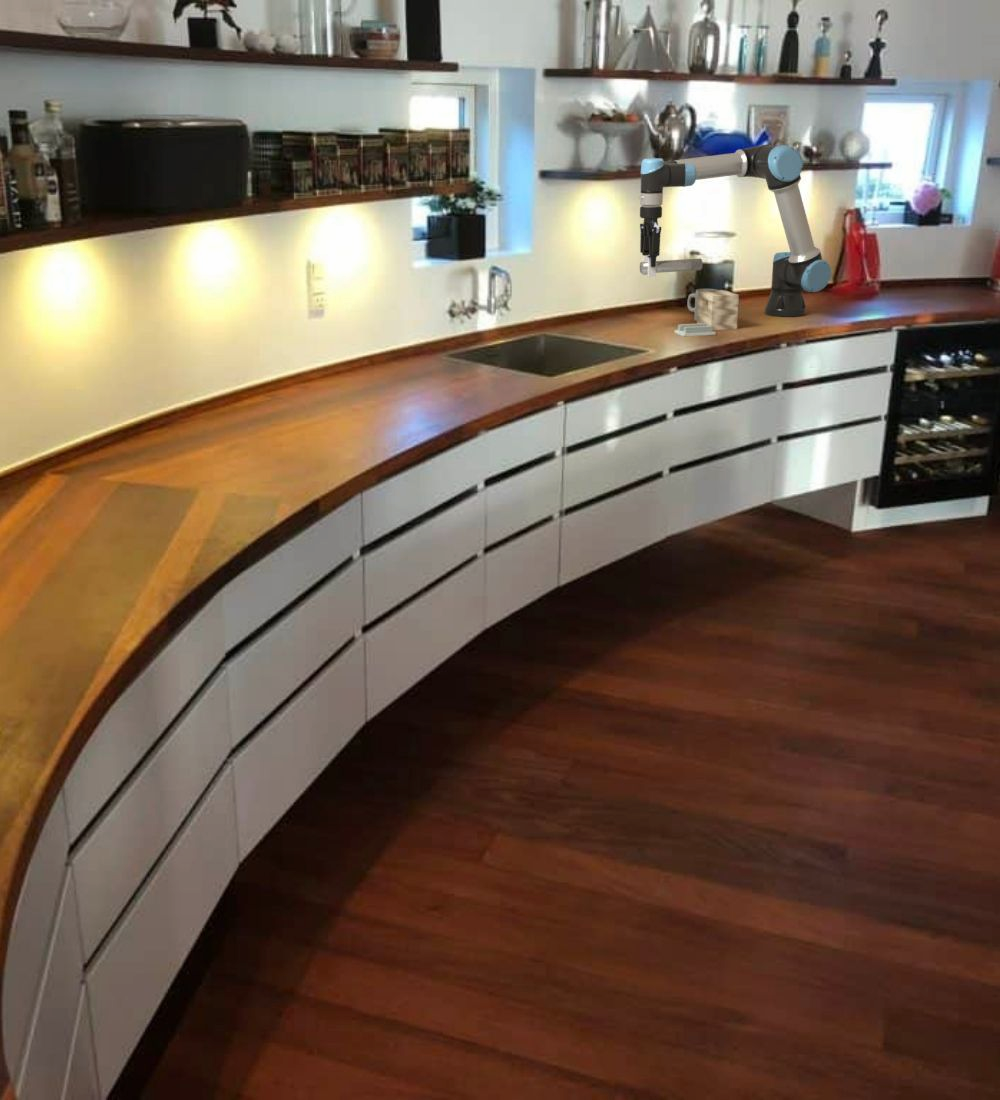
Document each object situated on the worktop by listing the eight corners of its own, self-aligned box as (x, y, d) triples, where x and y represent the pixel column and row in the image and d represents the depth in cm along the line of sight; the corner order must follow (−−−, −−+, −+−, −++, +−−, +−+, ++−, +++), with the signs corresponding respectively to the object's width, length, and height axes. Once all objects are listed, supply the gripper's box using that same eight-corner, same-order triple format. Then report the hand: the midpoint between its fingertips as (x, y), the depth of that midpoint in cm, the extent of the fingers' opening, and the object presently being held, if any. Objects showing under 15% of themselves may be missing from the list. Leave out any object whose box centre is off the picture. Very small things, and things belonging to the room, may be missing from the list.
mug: (721, 319, 449) (723, 289, 446) (710, 323, 443) (712, 292, 439) (692, 316, 456) (693, 287, 452) (681, 319, 450) (683, 289, 446)
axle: (697, 269, 428) (697, 258, 427) (702, 270, 425) (702, 258, 423) (639, 273, 423) (639, 261, 422) (644, 273, 419) (643, 262, 418)
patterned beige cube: (721, 323, 442) (723, 289, 438) (736, 328, 432) (738, 294, 427) (696, 324, 440) (698, 291, 436) (710, 330, 429) (712, 296, 425)
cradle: (705, 330, 428) (706, 322, 427) (715, 334, 421) (716, 326, 420) (674, 332, 425) (674, 324, 424) (683, 336, 418) (684, 328, 417)
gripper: (631, 204, 421) (629, 272, 429) (650, 208, 405) (648, 279, 413) (651, 203, 422) (649, 271, 431) (671, 207, 407) (668, 278, 415)
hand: (649, 275), depth 422 cm, fingers closed on axle, 4 cm apart
